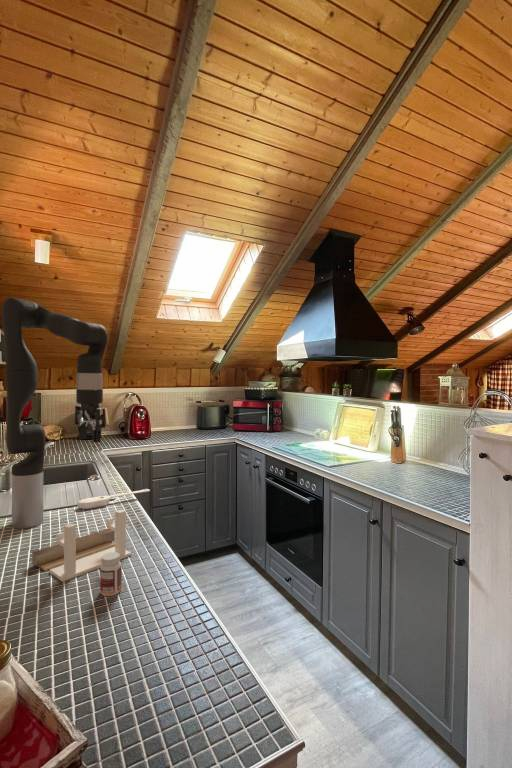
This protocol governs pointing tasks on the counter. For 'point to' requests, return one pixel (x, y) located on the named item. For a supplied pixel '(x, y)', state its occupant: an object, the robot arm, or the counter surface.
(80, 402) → the robot arm
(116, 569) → the pill bottle
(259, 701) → the counter surface
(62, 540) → the rack
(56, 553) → the rail
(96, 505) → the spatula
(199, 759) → the counter surface
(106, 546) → the tray
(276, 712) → the counter surface
